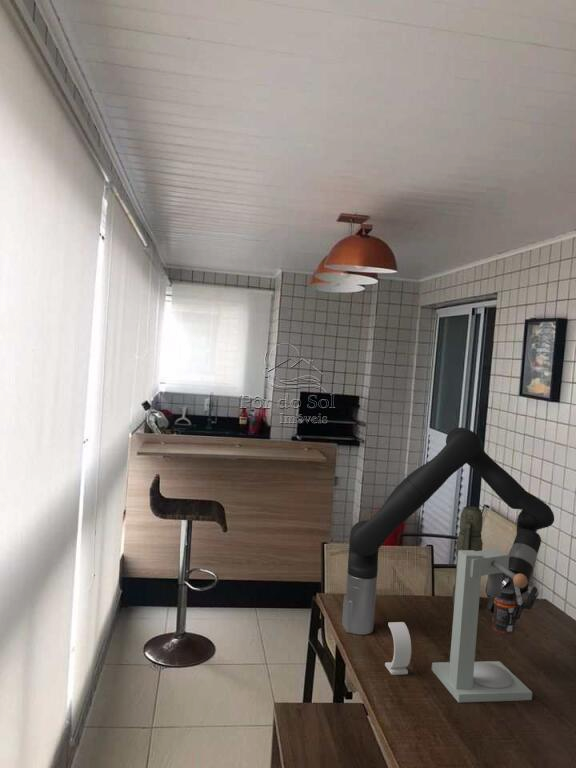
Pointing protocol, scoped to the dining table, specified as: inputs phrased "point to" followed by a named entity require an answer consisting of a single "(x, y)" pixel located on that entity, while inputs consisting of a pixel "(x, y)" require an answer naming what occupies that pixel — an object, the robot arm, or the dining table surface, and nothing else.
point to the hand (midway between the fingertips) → (502, 615)
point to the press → (462, 670)
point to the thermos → (469, 533)
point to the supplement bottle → (504, 612)
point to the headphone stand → (399, 648)
